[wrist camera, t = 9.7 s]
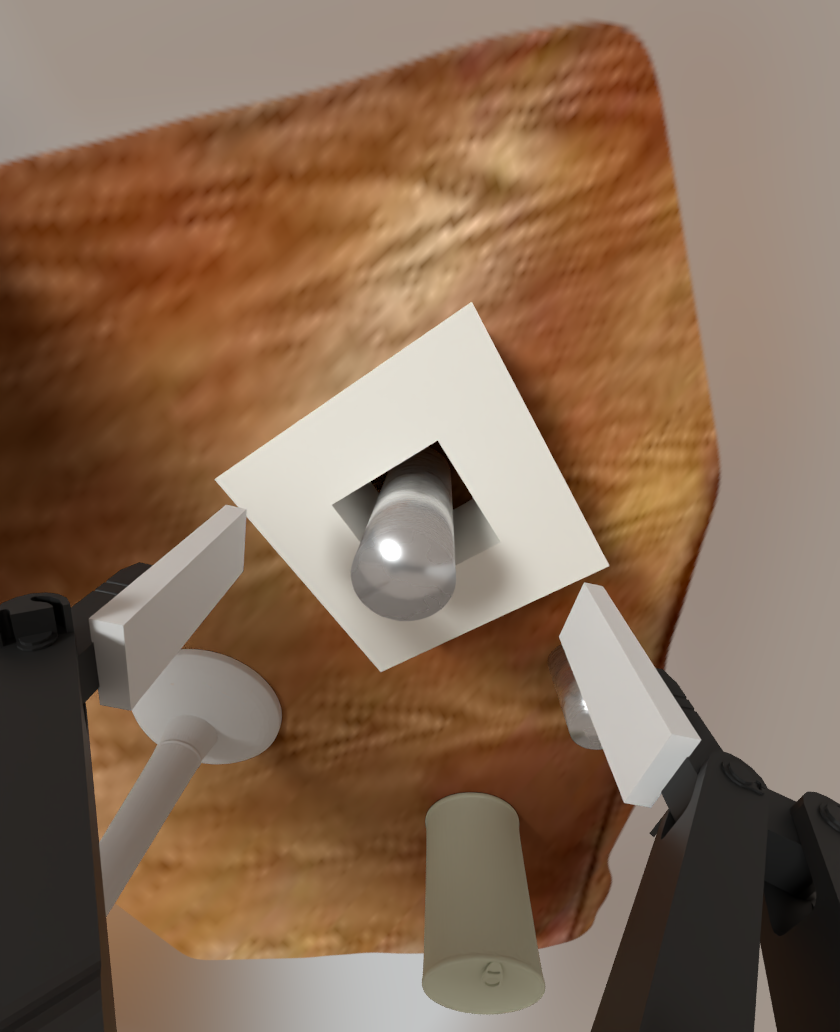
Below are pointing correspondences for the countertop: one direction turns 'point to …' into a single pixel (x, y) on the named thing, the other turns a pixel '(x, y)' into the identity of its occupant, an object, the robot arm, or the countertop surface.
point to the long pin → (409, 542)
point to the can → (478, 909)
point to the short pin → (572, 701)
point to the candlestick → (186, 747)
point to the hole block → (391, 440)
